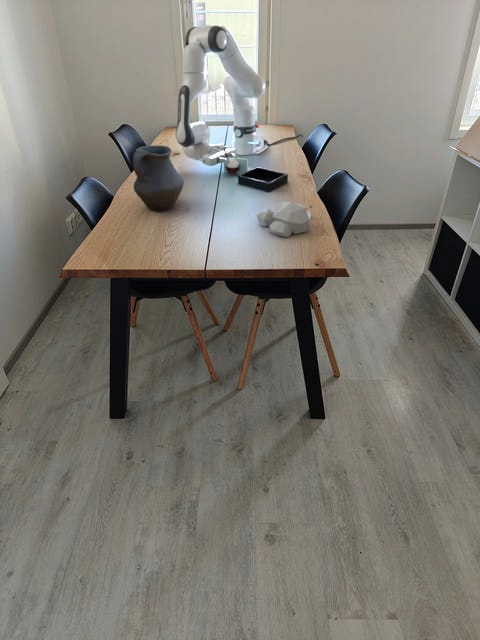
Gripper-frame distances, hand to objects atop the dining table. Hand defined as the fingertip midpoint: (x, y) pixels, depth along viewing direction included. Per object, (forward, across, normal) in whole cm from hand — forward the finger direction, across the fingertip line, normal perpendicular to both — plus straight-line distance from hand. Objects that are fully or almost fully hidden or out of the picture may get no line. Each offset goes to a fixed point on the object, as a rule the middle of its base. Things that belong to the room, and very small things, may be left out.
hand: (232, 159), depth 210 cm
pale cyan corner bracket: (-2, +7, +8) cm, 11 cm away
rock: (+52, -34, +8) cm, 63 cm away
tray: (+18, 0, +8) cm, 20 cm away
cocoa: (-1, -1, +7) cm, 7 cm away
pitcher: (0, -49, +8) cm, 50 cm away
